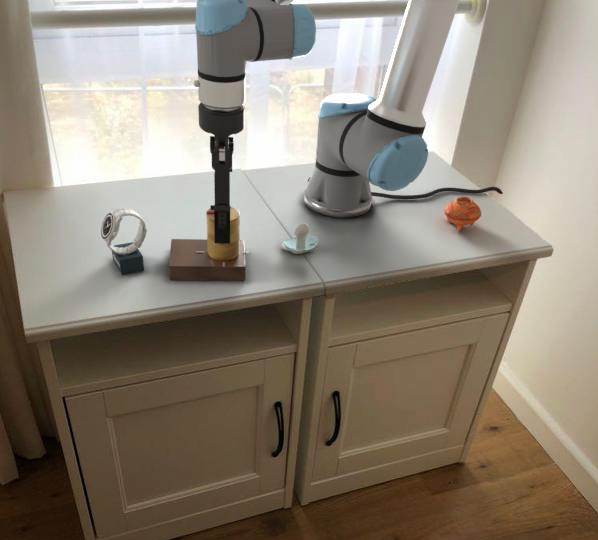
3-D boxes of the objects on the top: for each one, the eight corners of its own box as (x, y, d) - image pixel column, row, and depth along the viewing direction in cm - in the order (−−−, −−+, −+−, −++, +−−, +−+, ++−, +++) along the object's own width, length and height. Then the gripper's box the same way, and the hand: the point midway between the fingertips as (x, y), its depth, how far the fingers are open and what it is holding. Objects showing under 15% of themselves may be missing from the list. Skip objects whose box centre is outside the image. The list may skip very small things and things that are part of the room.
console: (249, 253, 132) (249, 238, 130) (251, 281, 124) (251, 266, 122) (172, 252, 130) (171, 237, 128) (169, 280, 122) (168, 265, 120)
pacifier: (274, 246, 135) (289, 259, 131) (275, 217, 131) (290, 230, 127) (306, 239, 138) (320, 252, 134) (307, 211, 133) (323, 223, 130)
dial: (239, 244, 128) (239, 204, 122) (239, 260, 123) (240, 220, 118) (207, 244, 127) (206, 203, 122) (207, 260, 123) (206, 219, 117)
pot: (480, 236, 143) (481, 207, 138) (443, 238, 145) (442, 209, 140) (481, 218, 148) (481, 189, 144) (445, 220, 151) (444, 192, 146)
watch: (102, 262, 125) (94, 208, 118) (144, 254, 129) (138, 201, 121) (111, 277, 122) (103, 222, 115) (153, 268, 125) (148, 215, 118)
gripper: (199, 78, 116) (202, 193, 130) (196, 131, 97) (200, 258, 112) (242, 80, 117) (240, 194, 131) (247, 133, 98) (244, 259, 112)
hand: (222, 224), depth 121 cm, fingers open, 13 cm apart
